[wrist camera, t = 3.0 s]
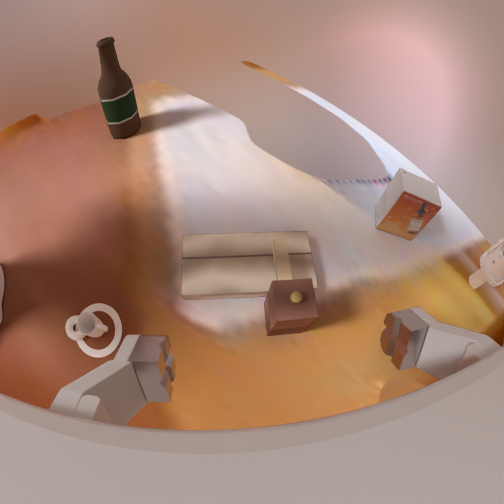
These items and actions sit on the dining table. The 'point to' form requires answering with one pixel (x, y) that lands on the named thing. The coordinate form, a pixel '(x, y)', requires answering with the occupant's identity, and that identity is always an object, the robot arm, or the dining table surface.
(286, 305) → the block
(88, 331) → the white curved piece
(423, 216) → the small box
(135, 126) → the beer bottle
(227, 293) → the ash board
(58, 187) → the dining table surface
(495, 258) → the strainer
